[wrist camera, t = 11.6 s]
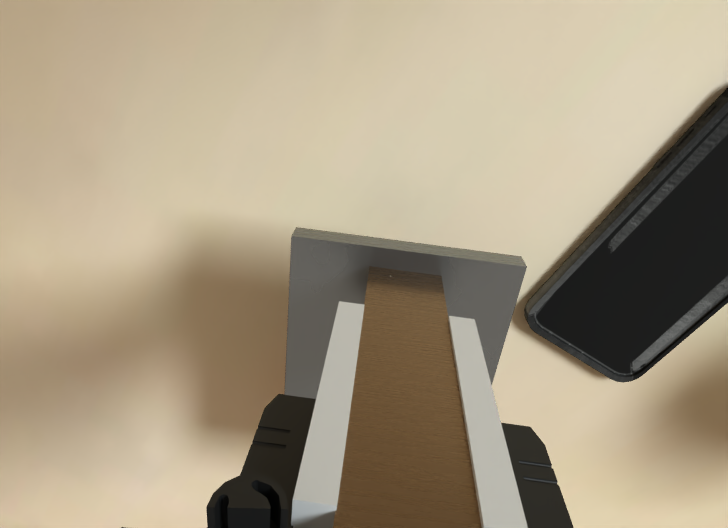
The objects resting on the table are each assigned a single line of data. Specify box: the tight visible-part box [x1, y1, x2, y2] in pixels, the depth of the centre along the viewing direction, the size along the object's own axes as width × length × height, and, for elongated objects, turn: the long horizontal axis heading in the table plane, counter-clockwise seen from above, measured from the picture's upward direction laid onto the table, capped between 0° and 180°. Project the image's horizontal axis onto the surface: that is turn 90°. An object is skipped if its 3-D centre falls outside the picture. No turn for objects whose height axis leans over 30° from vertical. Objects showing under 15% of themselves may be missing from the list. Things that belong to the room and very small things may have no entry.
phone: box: [524, 88, 728, 382], centre depth 23 cm, size 8×1×15 cm
